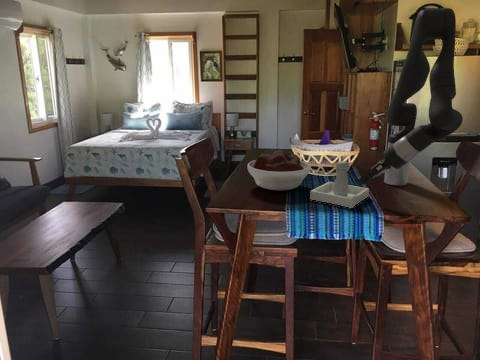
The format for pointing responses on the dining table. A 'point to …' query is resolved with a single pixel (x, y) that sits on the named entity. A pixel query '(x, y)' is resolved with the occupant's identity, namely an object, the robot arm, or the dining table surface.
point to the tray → (327, 195)
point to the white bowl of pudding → (278, 171)
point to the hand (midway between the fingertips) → (365, 180)
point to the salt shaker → (341, 180)
